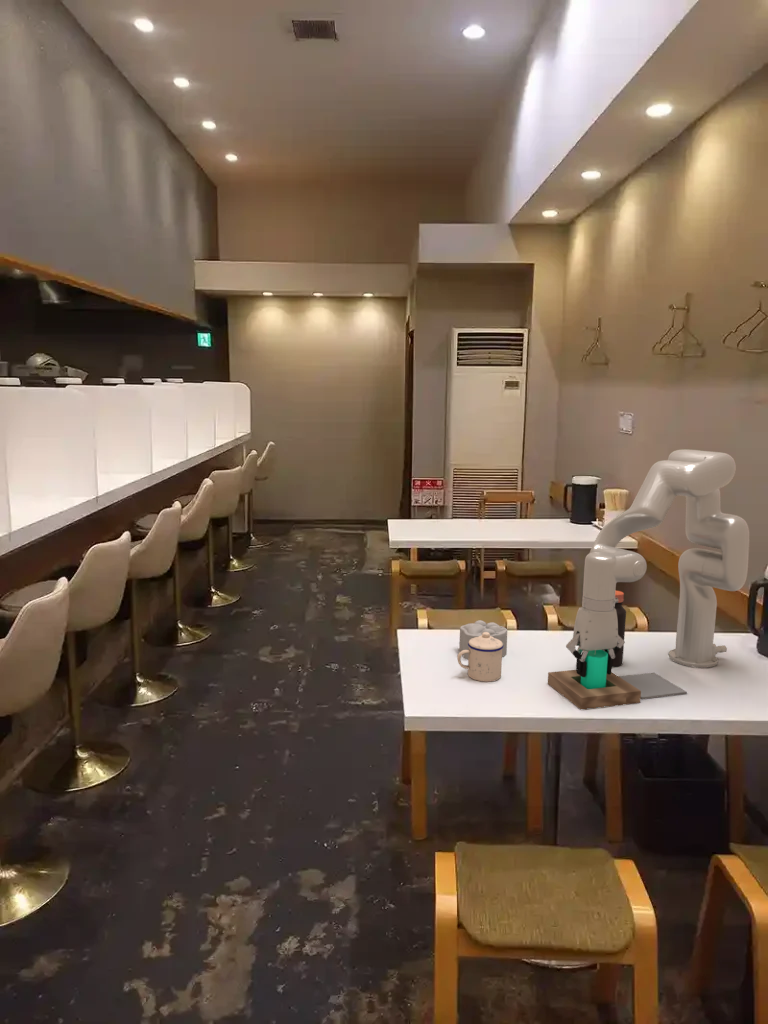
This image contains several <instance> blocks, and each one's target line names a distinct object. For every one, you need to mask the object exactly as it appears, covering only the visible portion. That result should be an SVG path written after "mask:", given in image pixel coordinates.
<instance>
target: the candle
mask: <svg viewBox="0 0 768 1024" xmlns="http://www.w3.org/2000/svg"><path fill="white" fill-rule="evenodd" d="M585 661H586V662H587V666H586V676H585V677H582V676H581V685H582V686H584V687H585V688H587V689H596V688H605V687H606V675H607V661H608V653H607V652H605V651H603V650H593V651H589V652H588V654H587V656H586V658H585Z"/></svg>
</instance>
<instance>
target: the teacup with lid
mask: <svg viewBox="0 0 768 1024" xmlns="http://www.w3.org/2000/svg"><path fill="white" fill-rule="evenodd" d="M468 646H469V650H462V651H461V652H459V653H458V654H457V660H456V661H457V663H458V665H459V666H460V667H461V668H463V669H465V670H467V675H468V677H470V679H472V680H475V681H479V682H486V683H487V682H495V681H499V679H501V677H502V665H503V664H502V663H503V658H502V648H503V643H502V642H501V641H500V640H498V639H496V638H493V637H492V636H490V633H488V632H483V633H482V635H481V636H479V637H475V638H472V639H470V640H469V642H468ZM465 653H469V657H468V661H467V665H466V664H463V662H462V660H461V658H462V656H463V654H465Z"/></svg>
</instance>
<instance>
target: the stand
mask: <svg viewBox="0 0 768 1024" xmlns="http://www.w3.org/2000/svg"><path fill="white" fill-rule="evenodd" d="M619 676H620V675H617V674H616V673H614V672H612V671H611V674H607V675H606V687H605V688H596V689H587V688H585V687H584V686H582V685H581V676H580V675H579V674H577V671H576V669H570V670H559V671H548V673H547V685H548V686H550V687H551V688H552V689H554V690H555V691H556V692H557V693H559V694H560V695H562V697H564V698H565V699H567V701H569V702H571V704H573V705H574V706H575V707H577V708H578V709H579V708H580V709H579V710H581V709H585V710H588V709H587V708H593V709H597V708H596V707H601V708H605V707H604V706H609V707H614V706H615V705H618V706H623V704H626V705H631V704H632V705H634V704H640V703H641V699H640V698H641V691H640V690H639V689H637V688H636V687H634V686H633V685H631V684H629V683H628V682H626V681H625V680H623V679H622V678H620V677H619Z"/></svg>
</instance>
